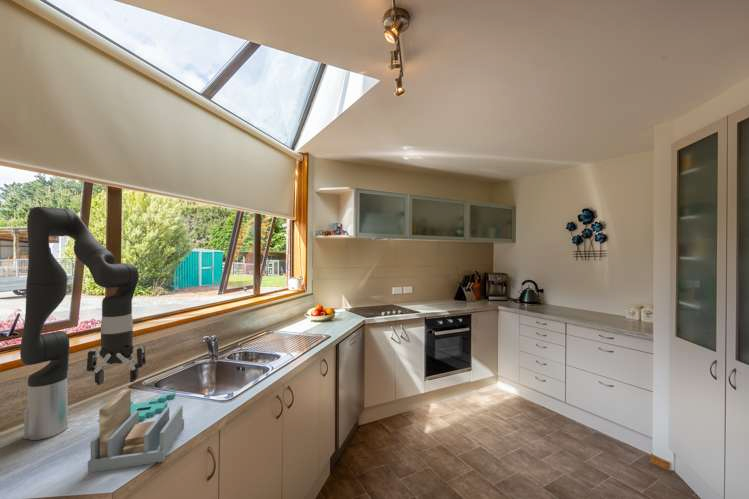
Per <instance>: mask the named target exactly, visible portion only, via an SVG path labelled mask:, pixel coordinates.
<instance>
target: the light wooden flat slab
mask: <svg viewBox="0 0 749 499" xmlns="http://www.w3.org/2000/svg"><path fill="white" fill-rule="evenodd" d="M131 390H132V389H131V388H128V389H123V390H121V391H120V392H119V393H118V394H117V395H116V396H114V397H113V398H112V399H111V400H109V401H108V402H107V403H106V404H105V405H103V406H102V407H101V408H100V409H99V410H98V411H99V412H98V413H99V415H98V416H99V418H98V419H99V420H98V422H99V433H100V458H106V457H108V438H109V437H110V436H111V435H112V434H113V433H114V432H115V431H116V430H117V429H118V428H119V427H120V426H121V425H122V424H123V423H124V422H125V421H126V420H127V419H128V418H129V417H130V416H131V402H132V399H131V397H132V395H131V393H132V392H131Z"/></svg>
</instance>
